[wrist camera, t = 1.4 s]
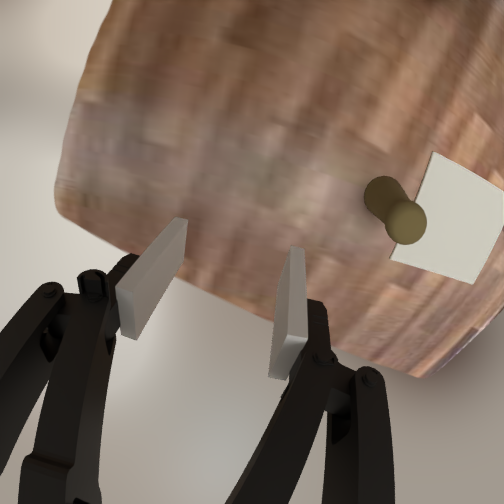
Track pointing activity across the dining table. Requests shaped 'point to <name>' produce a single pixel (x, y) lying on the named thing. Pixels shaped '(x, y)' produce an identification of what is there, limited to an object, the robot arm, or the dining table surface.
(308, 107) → the dining table surface
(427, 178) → the felt mat
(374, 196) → the cork
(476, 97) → the dining table surface
